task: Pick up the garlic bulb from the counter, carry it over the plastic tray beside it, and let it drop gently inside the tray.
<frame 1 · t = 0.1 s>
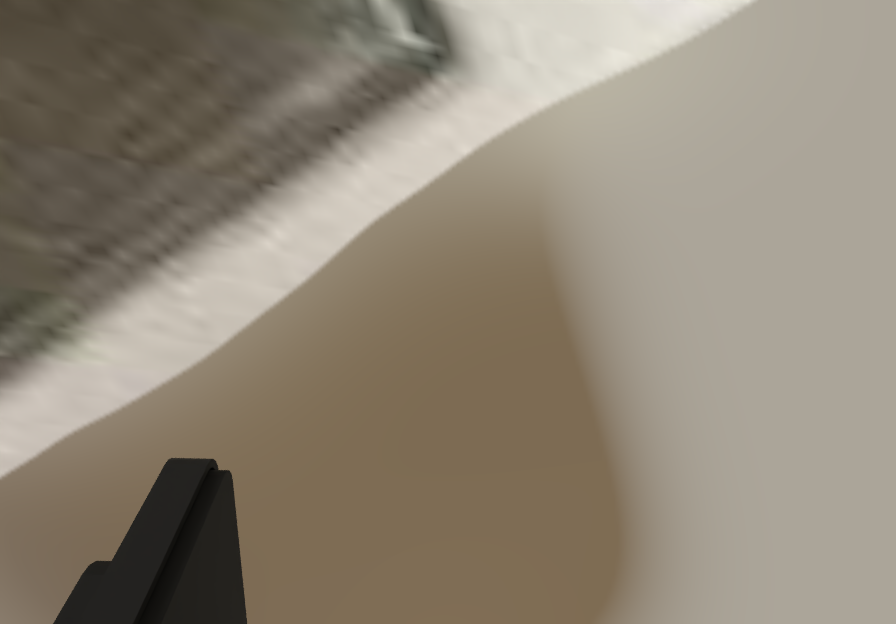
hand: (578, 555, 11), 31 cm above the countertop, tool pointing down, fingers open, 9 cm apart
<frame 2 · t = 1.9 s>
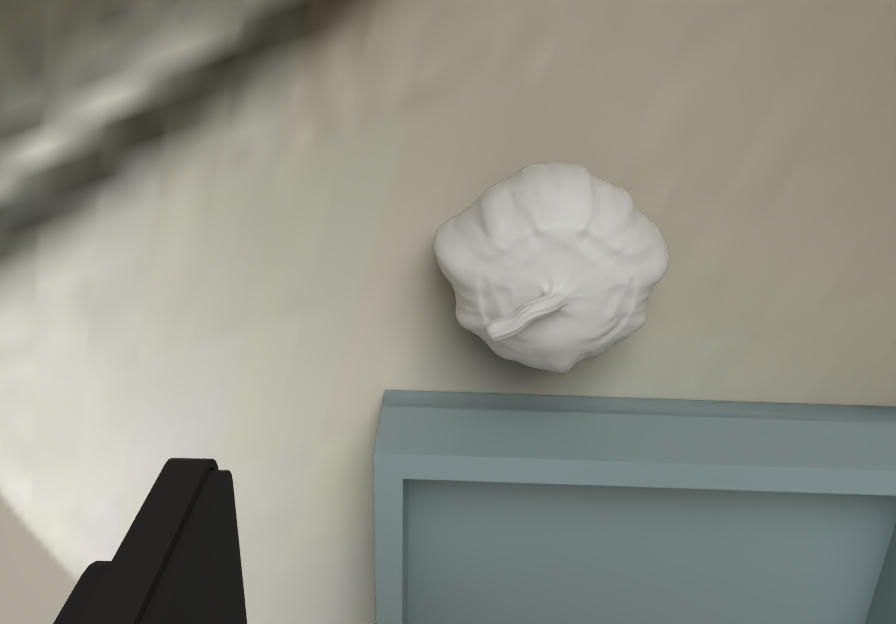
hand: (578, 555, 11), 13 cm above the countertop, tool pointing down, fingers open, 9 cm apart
tray: (631, 587, 28), on the countertop
garlic: (540, 238, 23), on the countertop
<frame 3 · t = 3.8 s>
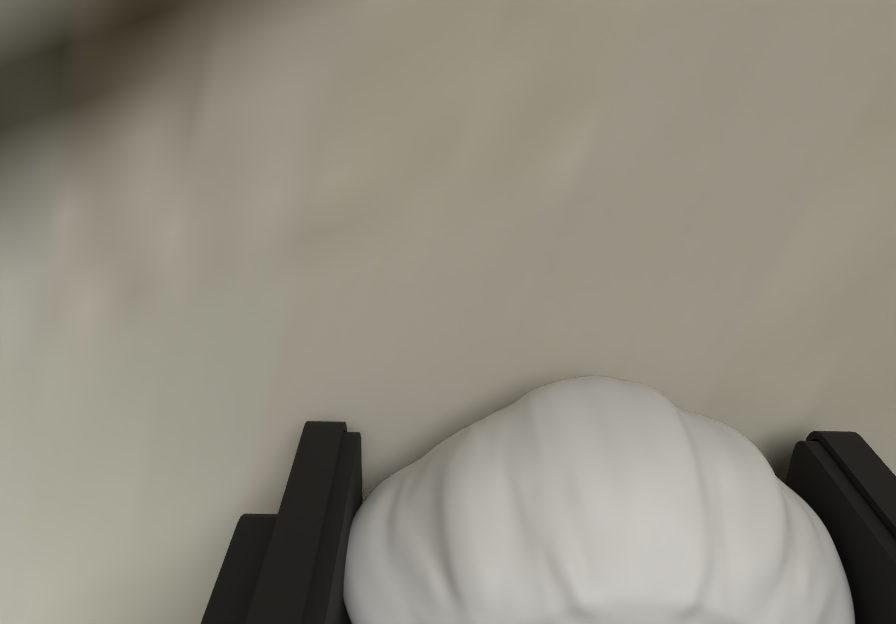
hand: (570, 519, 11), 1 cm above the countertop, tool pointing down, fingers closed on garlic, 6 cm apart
garlic: (561, 476, 12), on the countertop, touching gripper
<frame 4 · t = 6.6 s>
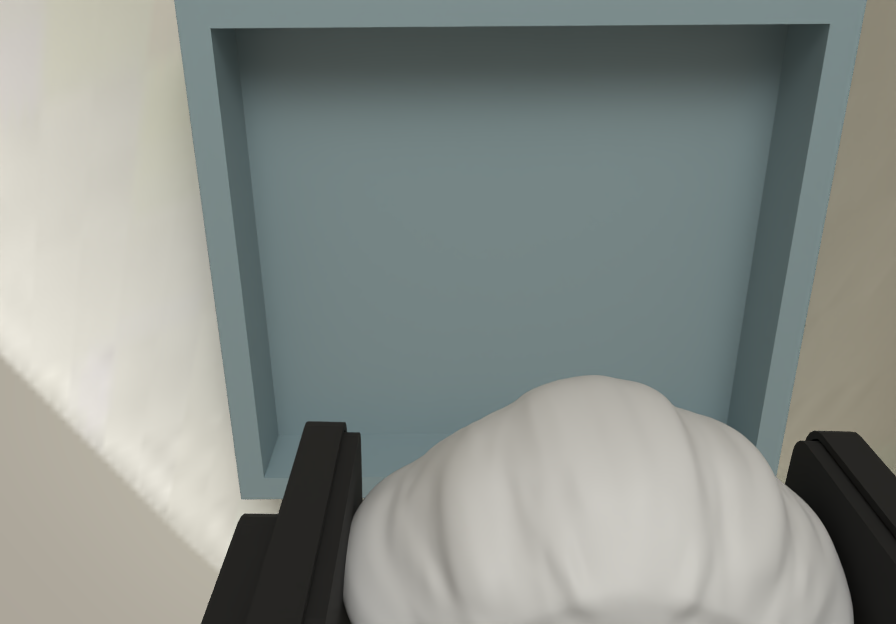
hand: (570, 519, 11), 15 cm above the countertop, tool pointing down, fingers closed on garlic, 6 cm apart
tray: (504, 238, 26), on the countertop
garlic: (560, 476, 12), point 14 cm above the countertop, touching gripper
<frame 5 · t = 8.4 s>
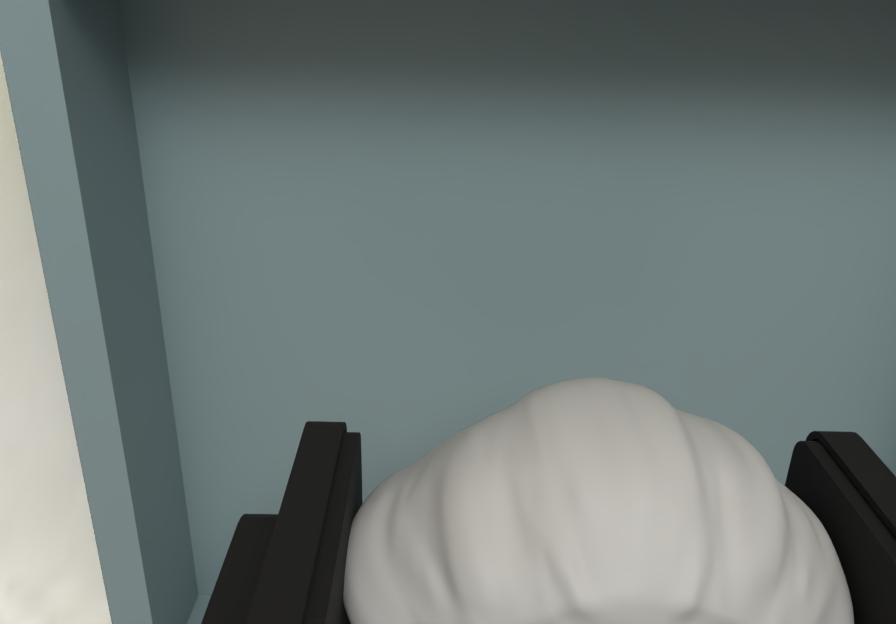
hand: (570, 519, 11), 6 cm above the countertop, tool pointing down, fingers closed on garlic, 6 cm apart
tray: (544, 326, 17), on the countertop
garlic: (560, 477, 12), point 5 cm above the countertop, touching gripper
when the fingers open (4 cm above the countertop, at t = 9.7 s): garlic drops 2 cm, resting on tray.
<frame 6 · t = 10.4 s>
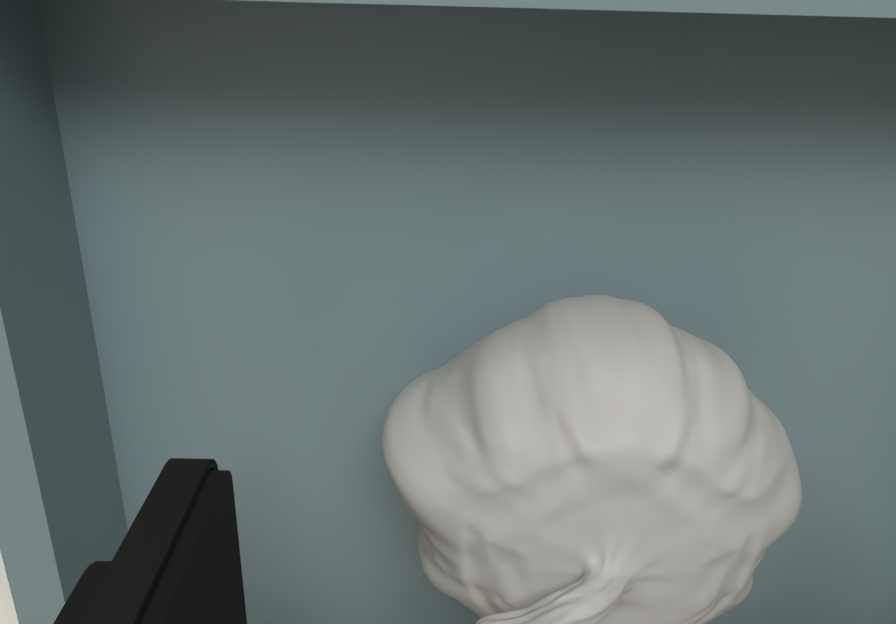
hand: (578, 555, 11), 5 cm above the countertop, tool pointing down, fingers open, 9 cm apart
tray: (539, 380, 15), on the countertop
garlic: (561, 394, 14), point 1 cm above the countertop, touching tray
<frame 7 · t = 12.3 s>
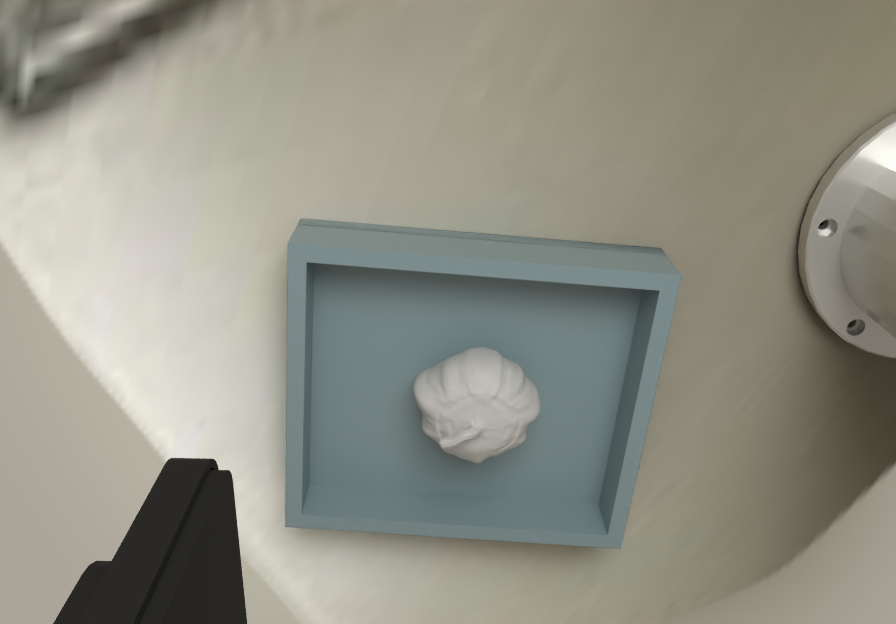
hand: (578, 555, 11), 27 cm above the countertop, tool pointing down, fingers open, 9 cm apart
tray: (467, 374, 41), on the countertop
garlic: (473, 379, 40), point 1 cm above the countertop, touching tray
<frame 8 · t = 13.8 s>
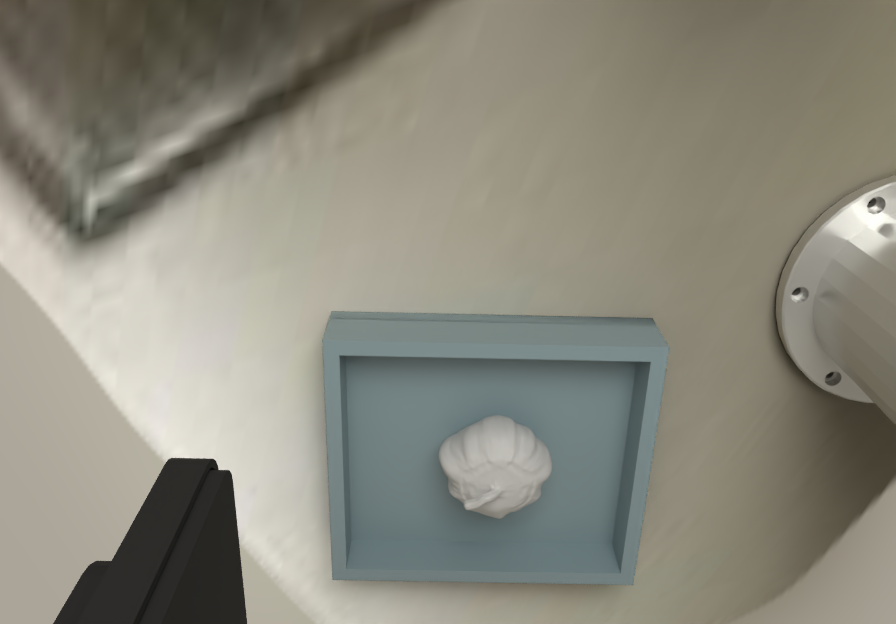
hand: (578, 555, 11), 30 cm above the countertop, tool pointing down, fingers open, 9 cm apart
tray: (486, 435, 45), on the countertop
garlic: (492, 440, 45), point 1 cm above the countertop, touching tray
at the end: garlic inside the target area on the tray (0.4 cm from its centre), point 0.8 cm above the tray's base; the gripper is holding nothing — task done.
